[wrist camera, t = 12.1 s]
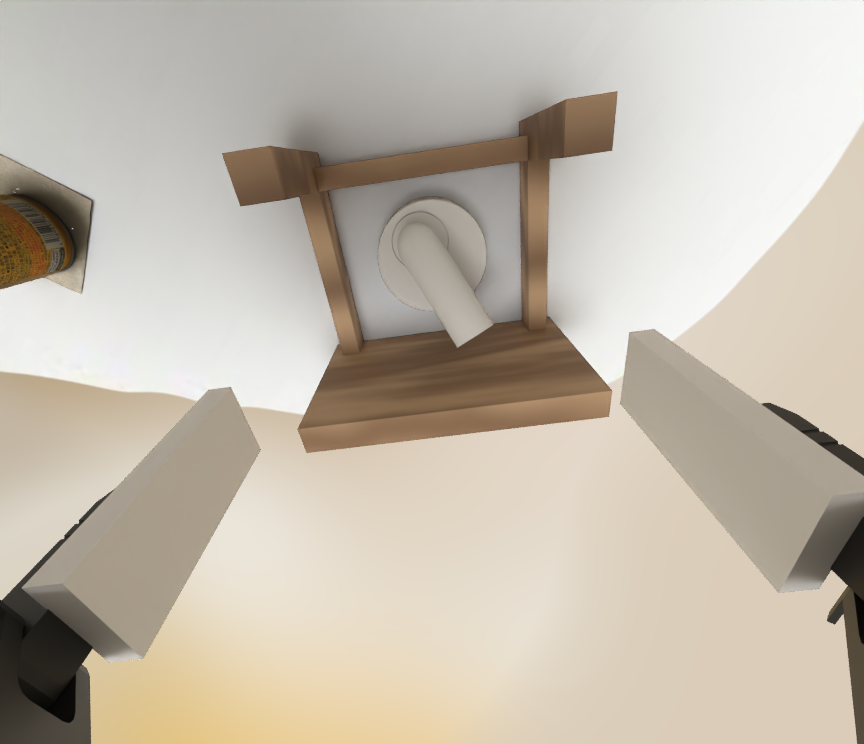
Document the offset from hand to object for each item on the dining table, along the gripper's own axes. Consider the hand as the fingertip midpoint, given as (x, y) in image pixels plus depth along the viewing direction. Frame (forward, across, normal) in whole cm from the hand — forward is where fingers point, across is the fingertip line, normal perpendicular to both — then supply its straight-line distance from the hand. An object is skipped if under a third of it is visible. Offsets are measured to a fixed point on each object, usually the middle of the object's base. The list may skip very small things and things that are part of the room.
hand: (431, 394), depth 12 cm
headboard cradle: (+22, +1, 0) cm, 22 cm away
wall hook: (+22, +1, 0) cm, 22 cm away
